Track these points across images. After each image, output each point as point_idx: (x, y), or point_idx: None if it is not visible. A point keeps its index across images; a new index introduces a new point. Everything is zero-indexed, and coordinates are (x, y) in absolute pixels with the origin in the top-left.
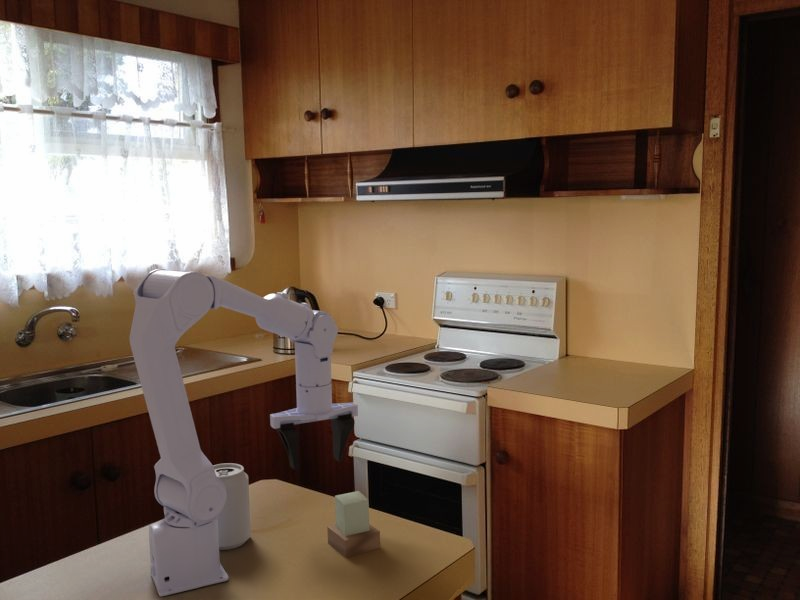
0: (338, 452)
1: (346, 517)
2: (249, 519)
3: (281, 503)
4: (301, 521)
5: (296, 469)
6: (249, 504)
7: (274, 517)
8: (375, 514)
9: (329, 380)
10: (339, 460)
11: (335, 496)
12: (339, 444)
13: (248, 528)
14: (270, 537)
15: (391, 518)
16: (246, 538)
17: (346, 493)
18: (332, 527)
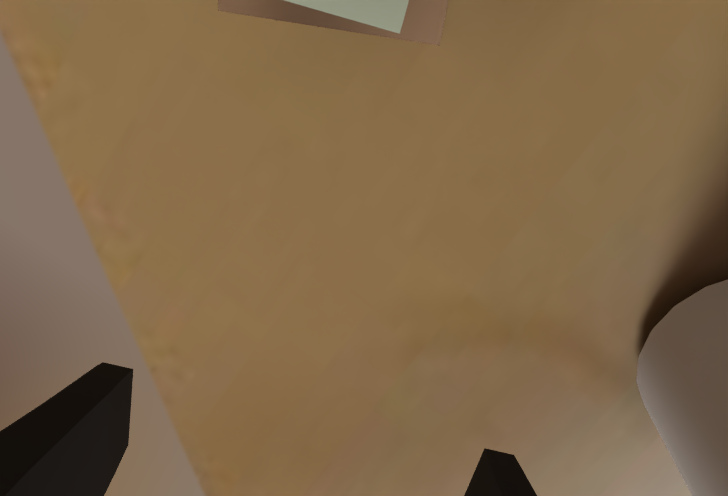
0: (89, 428)
1: None
2: (718, 347)
3: (350, 475)
4: (388, 303)
5: (498, 453)
6: (719, 416)
7: (448, 400)
8: (73, 140)
9: None
10: (120, 371)
11: (403, 18)
12: (34, 483)
13: (720, 315)
14: (585, 265)
15: (23, 46)
16: (723, 285)
17: (299, 2)
18: (425, 14)
